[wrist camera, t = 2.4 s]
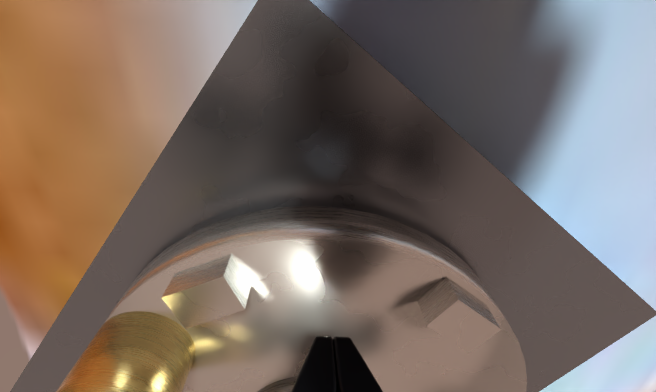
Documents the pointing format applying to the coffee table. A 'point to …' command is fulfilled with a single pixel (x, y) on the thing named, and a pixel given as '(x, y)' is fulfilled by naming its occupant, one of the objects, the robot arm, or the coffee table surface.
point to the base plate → (346, 192)
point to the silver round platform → (302, 310)
